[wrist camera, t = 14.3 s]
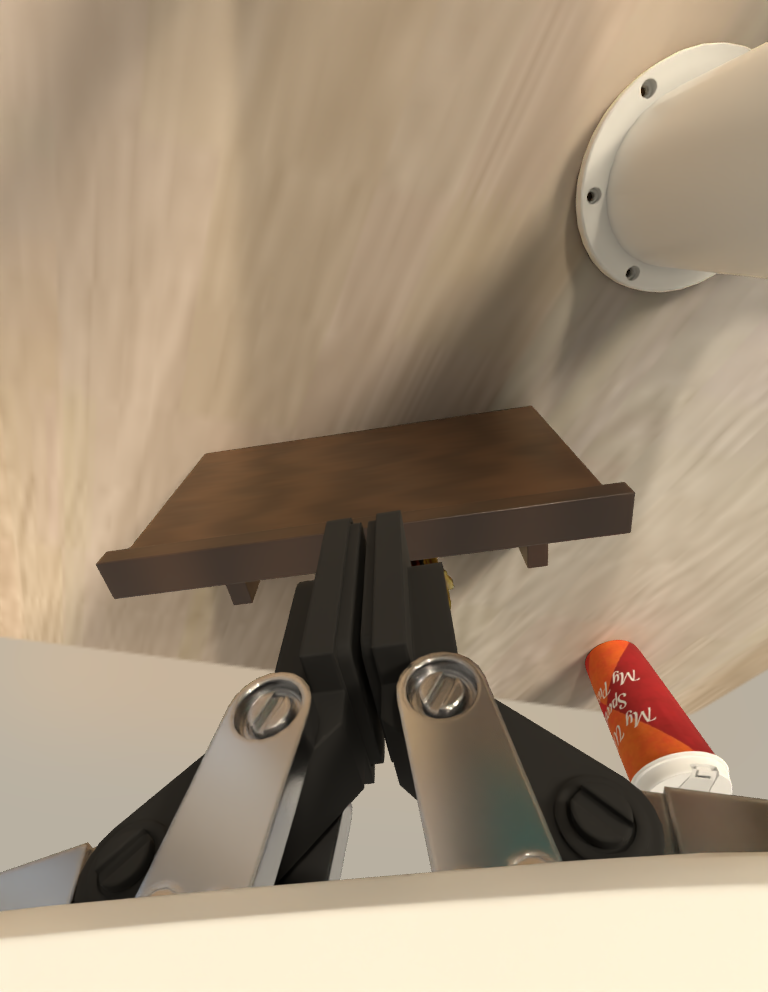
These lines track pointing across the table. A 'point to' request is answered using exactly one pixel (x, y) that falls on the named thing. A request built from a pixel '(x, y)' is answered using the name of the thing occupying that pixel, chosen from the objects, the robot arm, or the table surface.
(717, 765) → the paper cup
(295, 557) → the wooden stand
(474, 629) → the table surface
